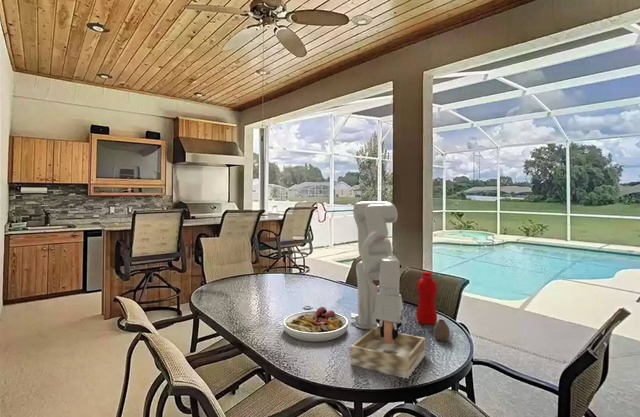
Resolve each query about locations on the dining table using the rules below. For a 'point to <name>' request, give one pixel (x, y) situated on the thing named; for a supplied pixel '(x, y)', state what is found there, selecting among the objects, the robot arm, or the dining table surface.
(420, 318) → the water bottle
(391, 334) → the peg
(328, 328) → the bowl
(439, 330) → the vase
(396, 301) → the robot arm
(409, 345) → the insert box
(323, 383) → the dining table surface
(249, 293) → the dining table surface
